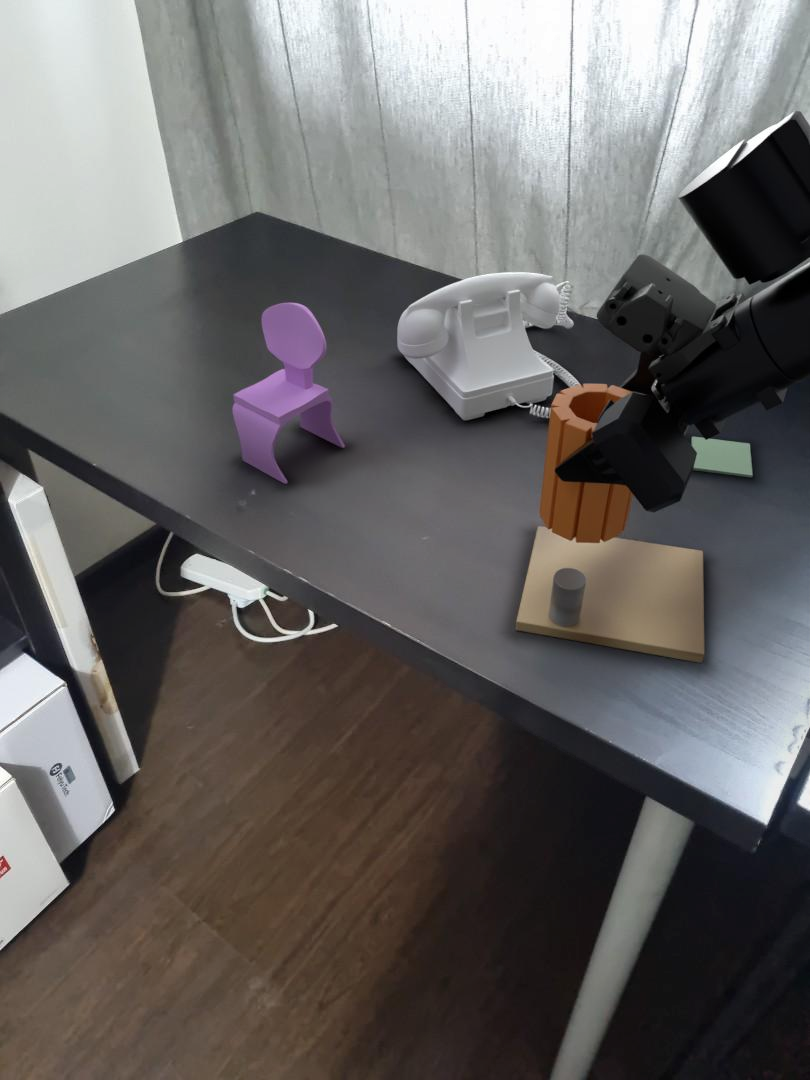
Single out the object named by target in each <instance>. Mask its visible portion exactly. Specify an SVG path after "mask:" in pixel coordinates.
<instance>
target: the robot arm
mask: <svg viewBox="0 0 810 1080" xmlns="http://www.w3.org/2000/svg"><path fill="white" fill-rule="evenodd" d="M677 199H678V200H679V202H680V203H681V205H682V206H683V208H684V209H685V210H686V212H687V213H688V214H689V217H691V219H692V221H693V222H694V224H695V225H696V226H697V228H698V230H699V231H700V232H701V233H702V235H703V236H704V237H705V239H706V241H707V242H708V243H709V246H711V248H712V249H713V251H714V252H715V254H716V255H717V256H718V258H719V260H720V261H721V262H722V263H723V265H724V266H725V268H726V269H727V271H728V272H729V274H730V275H731V276H732V278H733V279H735V280H741V279H744V280H745V281H746V282H747V284H748V285H749V286H750V285H752V284H755V283H757V282H759V281H760V282H761V283H762V284H763V283H764V284H765V283H769V282H772V281H774V280H776V279H778V278H780V277H782V276H784V275H786V274H787V273H789V272H790V271H792V270H794V269H796V268H797V267H798V266H799V265H801V264H802V263H804V262H805V261H807V260H808V259H810V123H809V122H808V121H807V119H806V117H805V116H804V114H803V113H802V111H800V110H794V111H793V112H791V113H790V114H789V115H787V116H786V117H784V118H783V119H781V120H780V121H779V122H778V123H776V124H773V125H771V126H769V127H767V128H765V129H764V130H762V131H761V132H759V133H758V134H756V135H754V137H751V138H750V139H748V141H747V139H742V140H741V141H740V142H737V144H735V145H734V146H733V147H732V148H730V149H729V150H728V151H727V152H725V153H724V154H723V155H722V156H719V158H718V159H716V160H715V161H714V162H713V163H711V164H710V165H709V166H708V167H707V168H705V169H704V170H703V171H702V172H701V173H700V174H699V175H697V176H696V177H695V178H694V179H693V180H692V181H691V182H689V184H688V185H687V186H686V187H684V188H683V190H681V191H680V192H679V194H678V195H677ZM596 319H597V321H598V322H599V324H600V325H601V326H602V327H603V328H605V329H606V330H607V331H609V332H610V333H611V334H612V336H614V337H616V338H617V339H619V340H621V341H622V342H624V343H625V344H626V345H628V346H630V347H631V348H632V349H634V350H635V351H637V352H639V353H640V355H639V359H638V364H637V368H636V369H635V370H634V371H633V372H632V373H631V374H630V375H629V376H628V377H627V378H626V379H625V380H624V381H623V382H622V383H621V384H620V385H619V386H618V387H620V388H623V389H626V390H628V391H631V393H630V394H628V395H626V396H624V397H623V398H621V399H619V400H618V401H617V402H615V403H614V402H613V401H612V400H611V399H610V400H609V402H608V403H607V405H606V406H605V408H604V410H603V411H602V413H601V415H600V416H599V418H598V420H597V425H596V427H595V429H594V430H593V432H592V436H593V437H592V438H591V439H589V440H588V441H587V442H586V443H584V444H583V445H582V446H581V447H579V448H578V449H577V450H576V451H574V452H573V453H572V454H571V455H569V456H568V457H567V458H566V459H565V460H563V461H562V462H561V463H560V464H559V465H558V466H557V467H556V468H555V470H554V471H555V473H556V474H557V475H558V477H559V478H560V479H561V480H562V481H564V482H583V483H604V484H617V485H625V486H627V487H628V488H629V490H630V491H631V492H632V494H633V496H634V497H635V499H636V500H637V501H638V503H639V504H640V505H641V506H642V508H643V509H644V510H645V512H649V513H656V512H658V511H661V510H663V509H665V508H668V507H670V506H673V505H674V504H676V503H679V502H681V501H682V498H683V496H684V493H685V491H686V488H687V486H688V483H689V481H690V478H691V476H692V474H693V471H694V470H693V468H694V464H695V460H696V456H697V452H696V451H695V449H694V448H693V447H692V443H691V442H690V441H689V440H688V438H687V437H686V436H685V434H686V433H687V431H688V428H689V426H693V425H694V426H695V428H696V429H697V430H698V431H699V433H700V435H701V437H702V438H705V440H707V439H712V438H713V437H715V436H717V435H719V434H721V433H722V429H723V426H724V424H725V421H726V420H727V419H728V418H729V417H731V416H733V415H736V414H738V413H739V412H741V411H744V410H745V409H747V408H749V407H752V406H754V405H756V404H758V403H761V404H762V406H763V407H764V409H765V411H768V410H772V409H773V408H775V407H777V406H779V405H782V404H783V403H784V401H785V397H786V395H787V394H786V393H787V390H788V388H790V387H792V386H794V385H796V384H798V383H800V382H802V381H804V380H806V379H808V378H810V261H809V262H807V263H806V264H805V265H803V266H801V267H799V268H798V269H796V270H794V271H793V272H791V273H789V274H788V275H786V276H784V277H783V278H781V279H779V280H778V281H776V282H775V283H773V284H770V285H769V286H767V287H766V288H764V289H763V290H761V291H759V292H758V293H755V294H754V295H752V296H751V297H749V298H747V297H746V295H745V294H744V292H742V293H741V292H740V294H738V295H736V294H735V293H734V292H733V293H731V294H729V295H727V296H726V297H724V298H723V299H721V300H719V301H717V302H714V301H712V300H711V299H710V298H709V297H707V296H706V295H705V294H703V293H702V292H701V291H700V290H699V289H698V287H696V286H695V285H694V284H693V283H691V282H689V281H688V280H687V279H685V278H683V277H682V276H680V275H679V274H678V273H676V272H675V271H673V270H672V269H670V268H669V267H667V266H666V265H665V264H663V263H661V262H660V261H658V260H657V259H656V258H654V257H652V256H650V255H648V254H643V253H640V254H637V255H636V256H635V258H634V259H633V261H632V262H631V264H630V265H629V266H628V267H627V269H626V270H625V271H624V273H623V274H622V276H621V277H620V278H619V280H618V282H617V283H616V284H615V286H614V287H613V289H612V290H611V292H610V293H609V295H608V296H607V297H606V298H605V300H604V302H603V303H602V304H601V306H600V308H599V309H598V311H597V312H596Z"/></svg>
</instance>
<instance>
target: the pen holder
mask: <svg viewBox="0 0 810 1080" xmlns="http://www.w3.org/2000/svg"><path fill="white" fill-rule="evenodd" d="M580 385H581V384H580ZM580 385H577V384H576V385H575V386H572V385H571V386H572V387H568V388H565V389H562V390H560V391H559V392H558V393H556V394H555V396H554V398H553V400H552V403H551V405H550V408H551V411H550V418H549V421H548V429H547V430H548V431H547V440H546V447H545V449H546V450H545V459H544V467H543V474H542V475H543V476H542V485H541V494H540V495H541V496H540V503H539V517H540V519H541V520H542V522H543V524H544V525H545V527H547V528H548V529H552V533H554V534H557V535H559V536H561V537H563V538H565V539H567V540H570V541H572V540H573V539H574V538H576V543H600V539H601V540H602V541H603V542H606V541H608V540H610V539H612V538H617V537H618V536H620V535H622V532H624V531H625V529H626V526H627V523H628V518H629V515H630V511H631V505H632V500H633V496H634V495H633V494H632V492H631V491H630V490H629V488H628V487H627V486H625V485H617V484H604V483H583V482H564V481H562V480H561V479H560V478H559V477H558V475H557V474H556V473H555V471H554V470H555V468H556V467H557V466H558V465H559V464H560V463H561V462H562V461H563V460H565V459H566V458H567V457H568V456H569V455H571V454H572V453H573V452H574V451H576V450H577V449H578V448H579V447H581V446H582V445H583V444H584V443H586V442H587V441H588V440H589V439H591V438H592V437H593V436H592V432H593V430H594V429H595V427H596V425H597V420H598V418H599V416H600V415H601V413H602V411H603V410H604V408H605V406H606V405H607V403H608V402H609V400H610V399H611V400H612V401H613V402H614V403H615V402H617V401H618V400H619V399H621V398H623V397H624V396H626V395H628V394H630V393H631V391H628V390H626V389H623V388H620V387H619V386H617V385H614V384H611V385H610V386H609V387H608V384H607V383H582V385H581V386H582V387H581V386H580Z"/></svg>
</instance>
